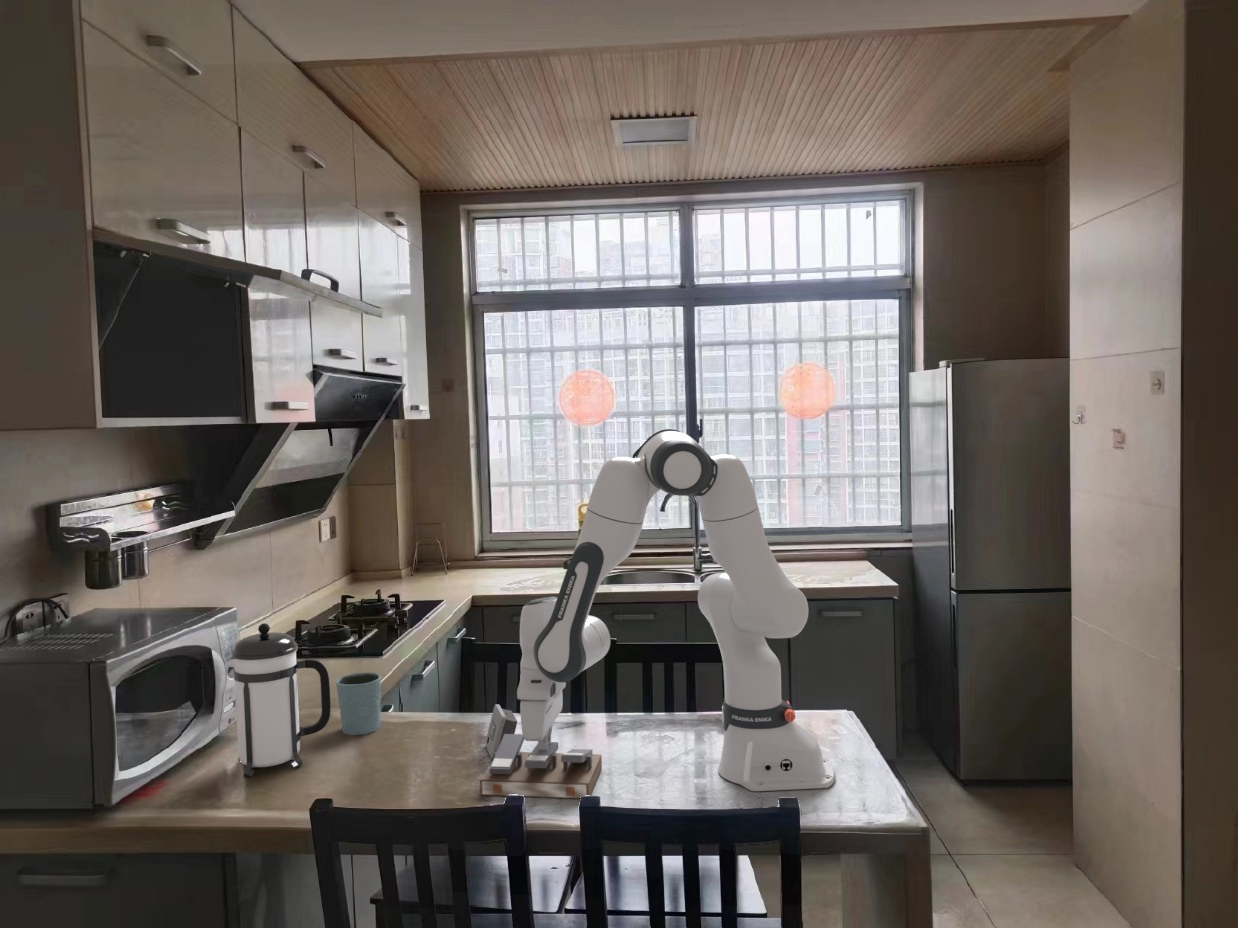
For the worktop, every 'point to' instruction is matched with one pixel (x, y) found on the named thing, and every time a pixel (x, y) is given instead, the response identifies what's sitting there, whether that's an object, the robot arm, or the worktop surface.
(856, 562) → the worktop surface
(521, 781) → the switch unit
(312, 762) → the worktop surface
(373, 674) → the blue embossed cup
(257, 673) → the coffee press
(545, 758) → the rocker middle
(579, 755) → the rocker
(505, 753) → the rocker
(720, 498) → the robot arm
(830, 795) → the worktop surface
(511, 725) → the electrical switch
